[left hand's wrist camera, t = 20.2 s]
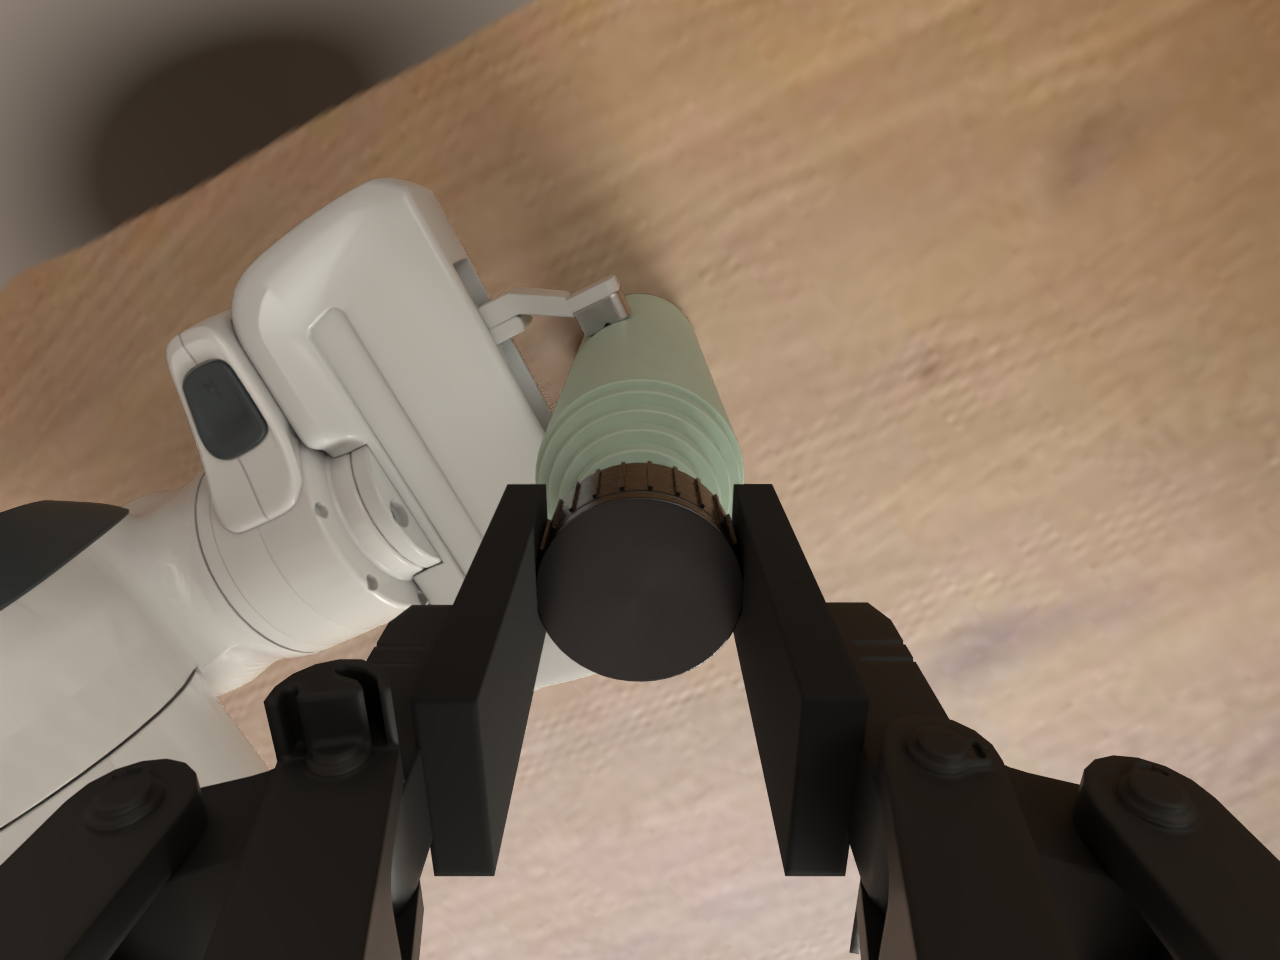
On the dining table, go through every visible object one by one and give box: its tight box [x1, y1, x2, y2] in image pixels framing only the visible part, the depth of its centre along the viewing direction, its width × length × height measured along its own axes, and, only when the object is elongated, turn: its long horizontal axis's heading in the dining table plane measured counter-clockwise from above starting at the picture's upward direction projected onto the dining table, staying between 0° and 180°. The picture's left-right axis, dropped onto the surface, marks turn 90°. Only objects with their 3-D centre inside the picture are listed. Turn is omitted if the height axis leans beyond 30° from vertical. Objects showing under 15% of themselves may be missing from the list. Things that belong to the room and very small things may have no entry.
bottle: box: [535, 294, 744, 520], centre depth 23 cm, size 5×5×21 cm
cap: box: [536, 461, 744, 682], centre depth 14 cm, size 4×4×2 cm
